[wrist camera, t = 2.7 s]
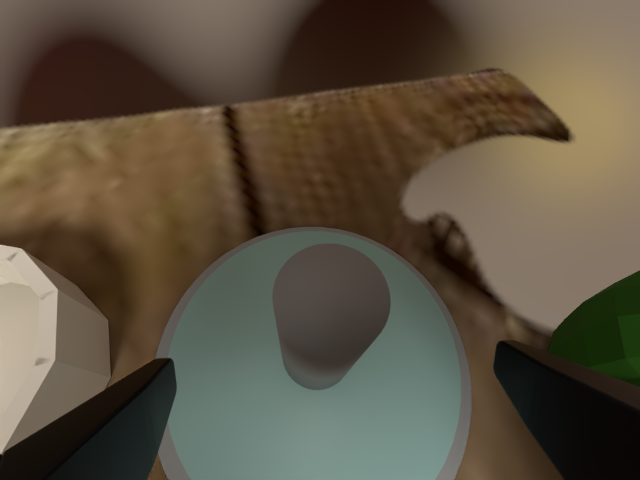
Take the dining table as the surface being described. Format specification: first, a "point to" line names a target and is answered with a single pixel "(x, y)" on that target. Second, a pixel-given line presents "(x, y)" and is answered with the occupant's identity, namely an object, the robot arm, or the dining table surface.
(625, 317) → the bell pepper
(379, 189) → the dining table surface
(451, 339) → the lid
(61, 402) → the bowl
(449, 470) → the mat
